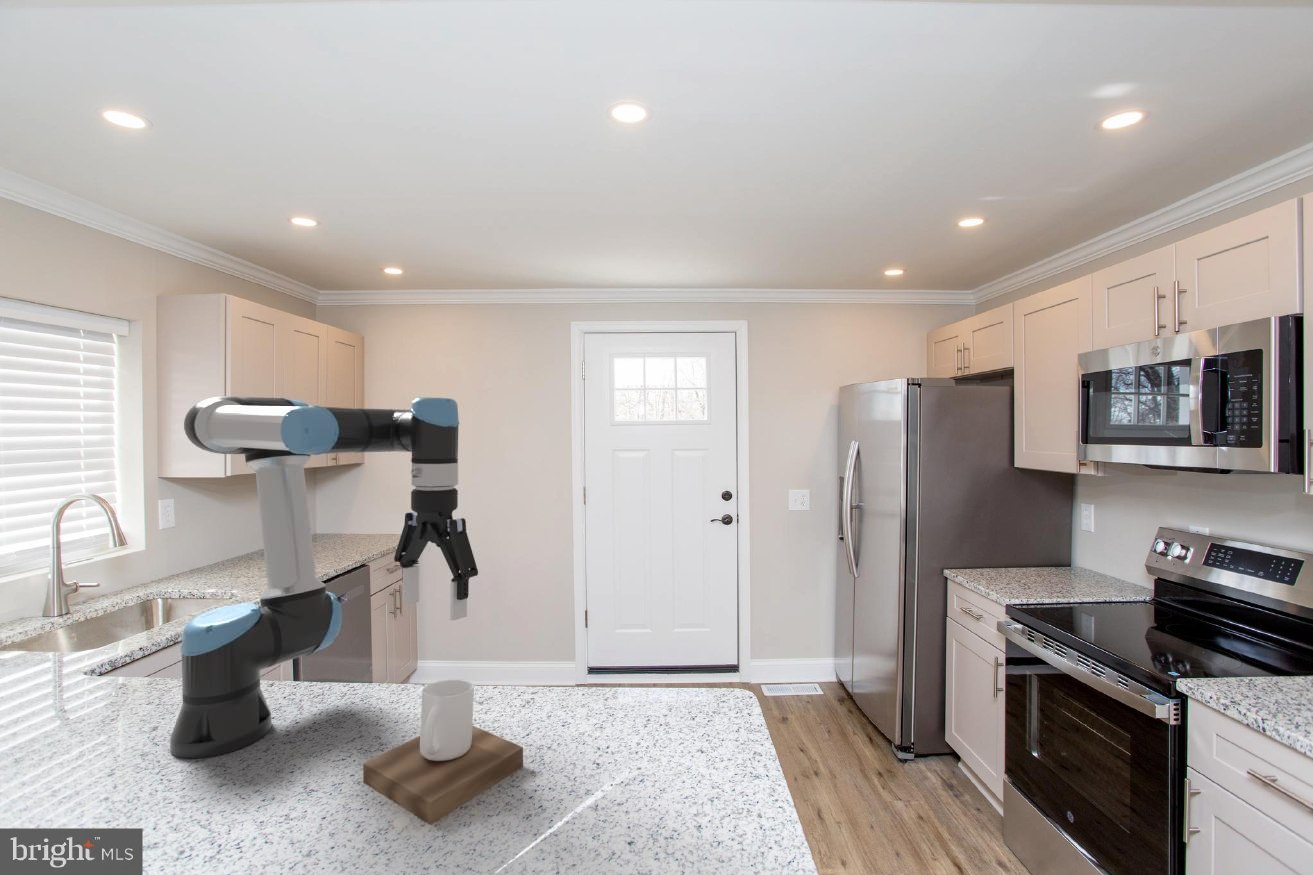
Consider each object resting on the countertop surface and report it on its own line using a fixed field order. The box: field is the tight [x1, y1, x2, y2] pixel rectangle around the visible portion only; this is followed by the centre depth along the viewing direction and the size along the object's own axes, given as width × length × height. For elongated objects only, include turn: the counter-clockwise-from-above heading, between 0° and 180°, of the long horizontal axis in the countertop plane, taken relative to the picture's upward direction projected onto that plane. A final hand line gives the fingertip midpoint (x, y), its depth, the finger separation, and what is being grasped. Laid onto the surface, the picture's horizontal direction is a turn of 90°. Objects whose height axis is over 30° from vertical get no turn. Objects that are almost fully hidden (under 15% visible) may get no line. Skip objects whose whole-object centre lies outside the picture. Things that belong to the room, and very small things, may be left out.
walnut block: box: [362, 724, 524, 826], centre depth 98 cm, size 18×18×4 cm
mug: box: [419, 679, 475, 761], centre depth 97 cm, size 12×8×10 cm
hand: (433, 610), depth 101 cm, fingers open, 13 cm apart
